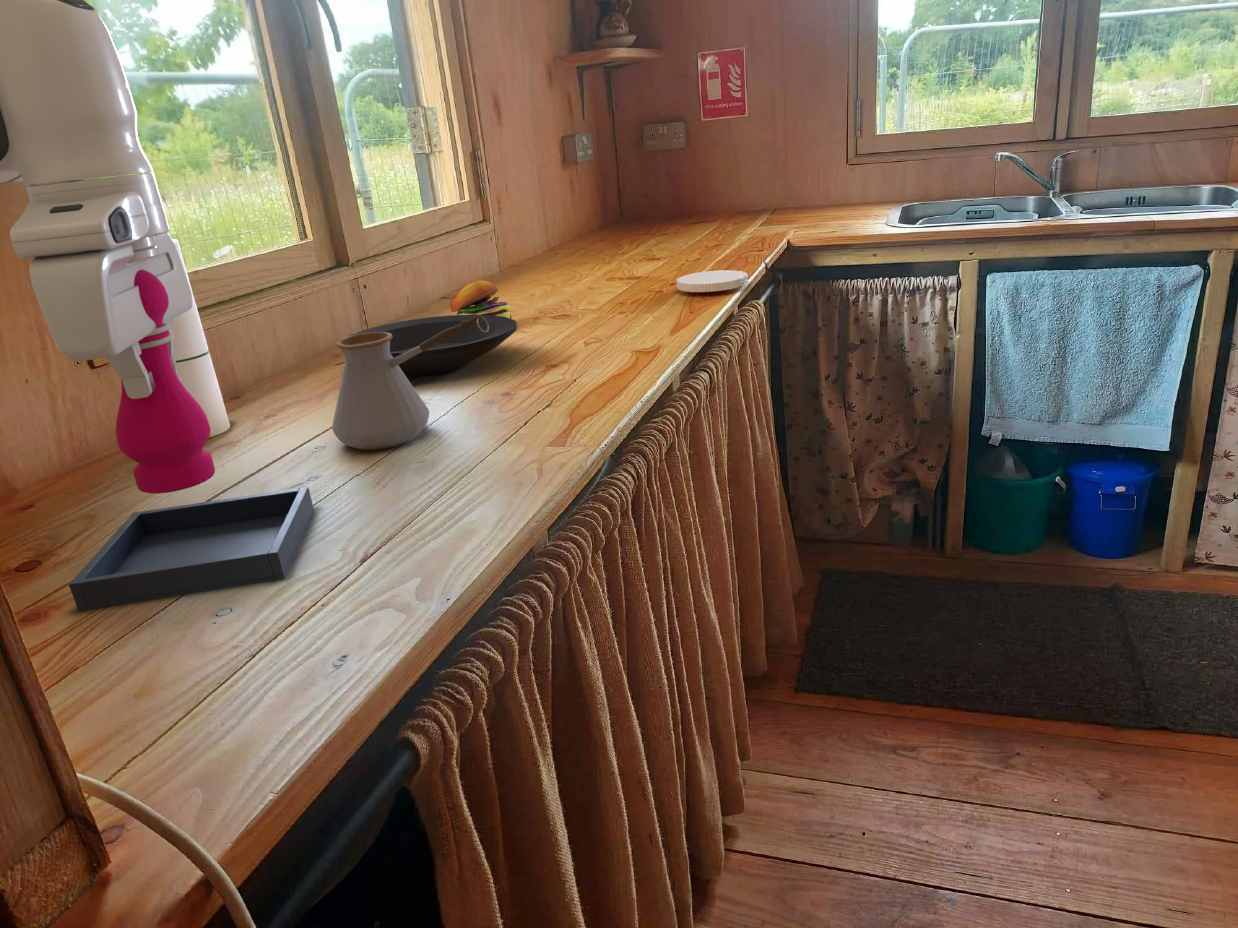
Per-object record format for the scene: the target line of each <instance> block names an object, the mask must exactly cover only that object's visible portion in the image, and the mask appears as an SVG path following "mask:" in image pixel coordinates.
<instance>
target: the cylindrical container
mask: <svg viewBox="0 0 1238 928" xmlns="http://www.w3.org/2000/svg"><path fill="white" fill-rule="evenodd" d="M172 240H173V242H174V244H175V246H176V249H177V251H178V254H179V257H180V260H181V263H182V266H183V269H184V272H185V275H186V278H187V281H188V284H189V287H190V290H191V295H192V308H191V309H190V310H188V311H187V312H185V313H183V314H182V315H180V316H179V317H177V318H175V319H174V320H172V321H170V322H171V325H172V329H173V332H174V358H175V361H176V365H177V368H178V373H176V375H177V376H178V378H179V380H180V382H181V383H182V384H183V385H184V387H185V388H186V389H187V391H188V392H189V393H190V394H191V395H192V396H193V397H194V399H195V400H196V401H197V402H198V403H199V405H200V406H201V408H202V410H203V411H204V413H205V414H206V417H207V419H208V422H209V425H210V431H211V432H210V436H209V438H213V437H215V436H218V435H221V434H223V433H225V432H226V431H228V430H229V429H230V428H231V423H230V421H229V417H228V413H227V410H226V406H225V403H224V399H223V395H222V391H221V389H220V385H219V382H218V378H217V375H216V371H215V367H214V364H213V360H212V357H211V354H210V350H209V346H208V343H207V339H206V334H205V330H204V328H203V325H202V320H201V317H200V313H199V310H198V306H197V303H196V300H195V296H194V293H193V289H192V285H191V282H190V279H189V275H188V270H187V267H186V263H185V261H184V257H183V252H182V250H181V247H180V243H179V239H172Z"/></svg>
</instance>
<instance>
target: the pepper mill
mask: <svg viewBox="0 0 1238 928" xmlns="http://www.w3.org/2000/svg"><path fill="white" fill-rule="evenodd" d="M134 286H138V287H139V294H140V298H141V302H142V305H143V307H144V310H145V312H146V314H147V315H148V316H149V318H150V319H152V320H153V321H154V322H155V325H156V329H154V330H153V331H152V333H151V334H149V335H148V336H146V337H145V338H143V339H141V340H140V341H138V343H139V346H140V349H141V354H140V355H139V356H140V358H141V360H142V362H143V364H144V366H145V368H146V371H147V372H149V371H151V373H152V376H153V380H154V383H155V386H156V389H155V391H154V392H153V393H152V394H151V395H149V396H148V397H145V398H138V399H132V398H129V397H128V395H127V393H126V390H125V387H124V384H123V381H122V379H121V378H120V380H121V381H120V382H121V394H120V401H119V405H118V409H117V410H118V411H117V416H116V421H115V436H116V441H117V447H118V448H119V450H120V451H121V452H122V454H124V455H125V456H126V457H127V458H128V459H130V460H132V461H134V462H136V463H137V465H135V467H134V468H133V470H132V474H133V477H134V480H135V483H136V487H137V490H139V491H140V492H141V493H144V494H154V495H155V494H157V495H158V494H169V493H174V492H179V491H182V490H186V489H190V488H193V487H196V486H199V485H201V484H204V483H205V482H207V481H209V480H210V479H211V478H213V477H214V475H215V474H216V468H215V464H214V460H213V456H212V453H211V452H209V451H208V450H205V449H204V448H205V446H206V443H207V442H208V441H209V438H210V437H209V436H210V432H211V431H210V425H209V422H208V419H207V417H206V414H205V413H204V411H203V410H202V408H201V406H200V405H199V403H198V402H197V401H196V400H195V399H194V397H193V396H192V395H191V394H190V393H189V392H188V391H187V389H186V388H185V387H184V385H183V384H182V383H181V382H180V380H179V378H178V376H177V375H176V373H175V371H174V368H173V365H172V362H171V359H170V354H169V347H168V342H169V341H171V340H172V336H171V335H170V334H169V331H168V329H169V325H168V324H166V323H164V324H163V317H164V315H165V313H166V311H167V309H168V306H169V299H168V294H167V292H166V289H165V287H164V285H163V284H162V282H161V281H160V280H159V279H158V278H157V277H156V276H155V275H153V274H152V273H150V272H148V271H145V270H139V271H138V272H137V273H136V275H135V278H134Z"/></svg>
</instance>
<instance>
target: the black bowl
mask: <svg viewBox="0 0 1238 928" xmlns="http://www.w3.org/2000/svg"><path fill="white" fill-rule="evenodd" d="M474 316H478V315H457V314H451V315H450V314H449V315H440V316H430V317H428V316H427V317H420V318H414V319H413V318H412V319H407V320H402V321H401V320H400V321H395V322H389V323H386V324H382V325H378V326H375V327H374V326H373V327H371V328H367V329H363V330H361V331H357V332H355V333H352V334H350V335H348V336H347V337H350V336H354V335H359V334H365V333H374V332H387V333H391V334H392V336H393V337H392V339H391V340H390V354H391V355H392V357H393V358H395V357H397V356H399V355H401V354H403V353H405V352H407V351H409V350H411V349H413V348H415V347H417V346H419V345H420V344H422V343H423V342H425V341H427V340H428V339H430V338H432V337H433V336H435V335H437V334H438V333H440V332H442V331H443V330H445V329H447V328H451V327H453V326H456V325H459V324H460V322H461V321H462V320H464V321H468V320H470V318H471V317H474ZM481 316H482V317H483V318H485V319H486V321H487V322H488V324H489V330H488V332H482V331H481V330H480V329H479V328H478V325H477V324H476V325H472V326H470V327H469V329H468V330H467V331H464V330H463V331H461V332H460V333H459V334H457V335H456V336H455V337H453V338H452V339H450V340H448V341H446V342H444V343H441V344H439V345H437V346H435V347H432V348H430V349H428V350H426V351H422V352H420V353H419V354H417V355H415V356H413V357H411V358H410V359H408V360H406V361H404V362H402V363H401V364H399V367H400V368H401V370H402V371H403V373H404V374H405V376H410V377H429V376H438V375H443V374H447V373H451V372H455V371H458V370H460V369H462V368H464V367H465V366H467V365H469V364H471V363H472V362H474V361H476V360H478V359H480V358H481V357H483V356H485V355H486V354H488V353H490V352H491V351H493V350H495V349H496V348H497V347H498V346H500V345H501V344H502V343H504V342H505V341H506V340H507V339H508V338H510V337H511V336H512V335H513V334H515V333H516V331H517V330H518V326H517V321H516V320H515V319H513V318H512V319H510V318H507V317H503V316H496V315H481ZM478 323H479V326H480V327H481V329H482V330H484V331H487V324H486V322H485V321H484V319H482V320H481V321H480V322H478ZM347 337H345V338H347Z"/></svg>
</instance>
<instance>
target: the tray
mask: <svg viewBox="0 0 1238 928" xmlns="http://www.w3.org/2000/svg"><path fill="white" fill-rule="evenodd" d="M314 511H315V508H314V504H313V500H312V497H311V492H310V488H309V486H304V487H298V488H290V489H284V490H277V491H270V492H263V493H257V494H249V495H243V496H237V497H229V498H223V499H216V500H210V501H203V502H197V503H190V504H182V505H176V506H170V507H163V508H162V507H161V508H155V509H149V510H142V511H135V512H132V513H131V514H130V516H129V517H128V518H127V519H126V520H125V521H124V522H123V524H122V525H120V527H119V528H117V530H116V531H115V533H113V535H112V536H111V537H110V538H109V539H108V540H107V541H106V542H105V543H104V544H103V546H102V547H101V548H100V549H99V550H98V551H97V552H96V553H95V555H94V556H93V557H92V558H91V559H90V561H88V563H86V564H85V565H84V567H83V568H82V569H81V570H80V571H79V573H77V574H76V576H75V577H74V578H73V579H72V580H71V581H70V582H69V584H68V587H69V589H70V592H71V594H72V597H73V600H74V602H75V605H76V608H77V610H78V612H85V611H92V610H99V609H105V608H111V607H118V606H124V605H129V604H130V605H131V604H136V603H142V602H149V601H154V600H161V599H168V598H174V597H179V596H188V595H193V594H194V595H195V594H199V593H205V592H211V591H217V590H224V589H225V590H226V589H230V588H231V589H232V588H236V587H245V586H250V585H257V584H263V583H270V582H276V581H282V580H285V579H286V578H287V575H288V573H289V570H290V568H291V566H292V563H293V561H294V558H295V556H296V554H297V551H298V549H299V547H300V544H301V542H302V540H303V537H304V535H305V533H306V530H307V528H308V526H309V523H310V521H311V518H312V516H313V513H314Z"/></svg>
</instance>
